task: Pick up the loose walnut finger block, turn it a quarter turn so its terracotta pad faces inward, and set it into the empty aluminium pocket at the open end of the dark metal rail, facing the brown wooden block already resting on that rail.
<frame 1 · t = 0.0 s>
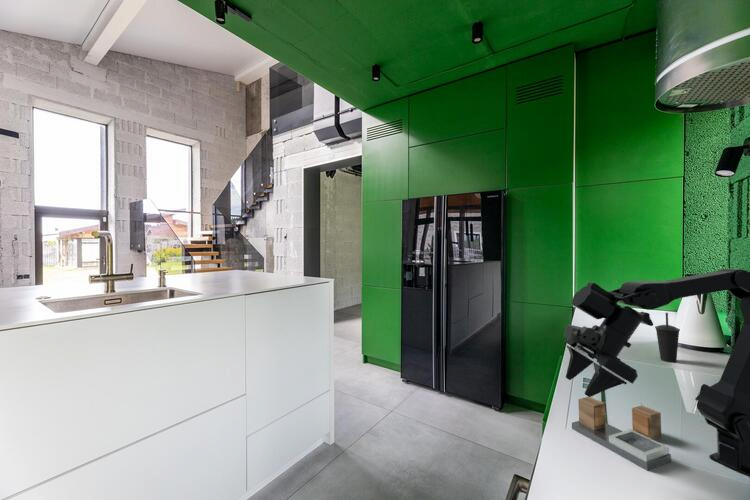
hand: (576, 386, 72), 15 cm above the worktop, tool tilted 35°, fingers open, 9 cm apart
rail: (617, 443, 75), on the worktop
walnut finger: (646, 434, 78), on the worktop
drinking cup: (668, 361, 130), on the worktop
brown wooden block: (592, 424, 80), resting on rail
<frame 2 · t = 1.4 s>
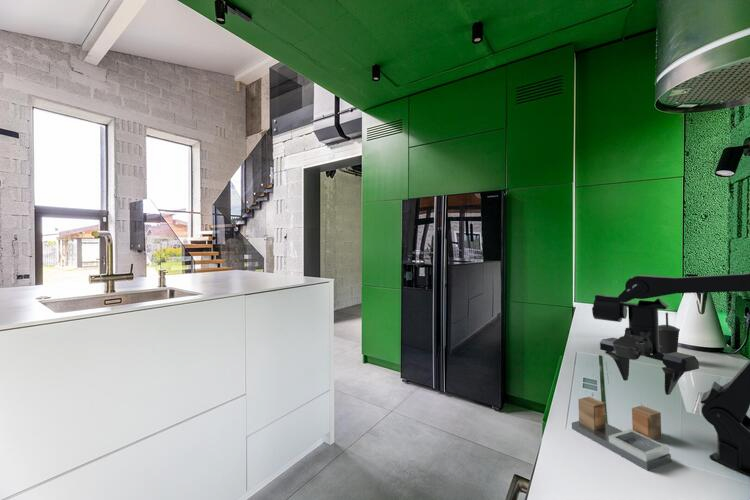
hand: (645, 387, 78), 12 cm above the worktop, tool pointing down, fingers open, 9 cm apart
nothing on the worktop moved.
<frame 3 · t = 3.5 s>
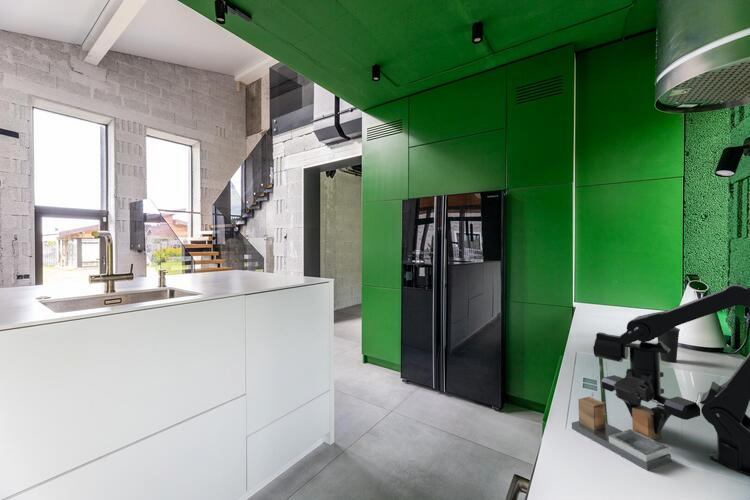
hand: (646, 429, 78), 1 cm above the worktop, tool pointing down, fingers closed on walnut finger, 4 cm apart
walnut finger: (646, 434, 78), on the worktop, touching gripper
everything else where it was.
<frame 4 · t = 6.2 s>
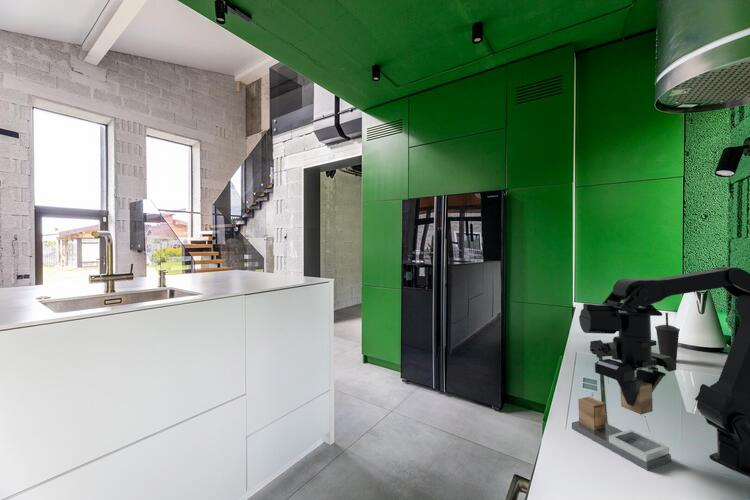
hand: (636, 403, 71), 11 cm above the worktop, tool pointing down, fingers closed on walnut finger, 4 cm apart
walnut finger: (636, 408, 71), point 10 cm above the worktop, touching gripper
everything else where it was.
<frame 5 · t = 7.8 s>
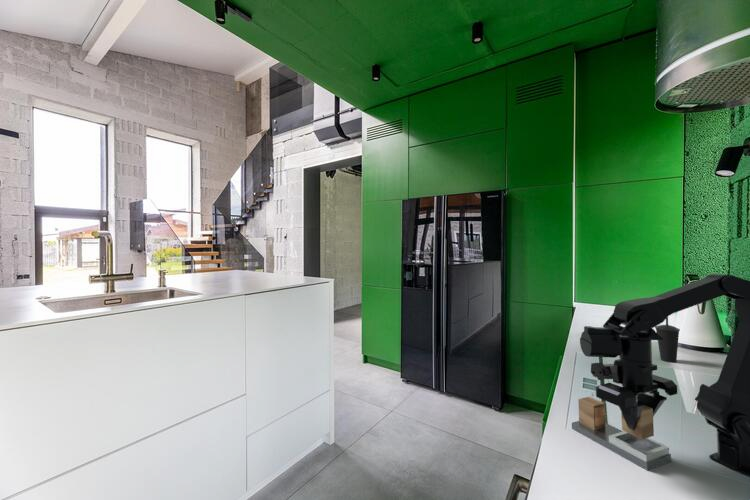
hand: (637, 427, 70), 6 cm above the worktop, tool pointing down, fingers closed on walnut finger, 4 cm apart
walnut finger: (637, 432, 70), point 5 cm above the worktop, touching gripper
everything else where it was.
when the fingers open (4 cm above the worktop, at t = 9.1 s): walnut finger drops 1 cm, resting on rail.
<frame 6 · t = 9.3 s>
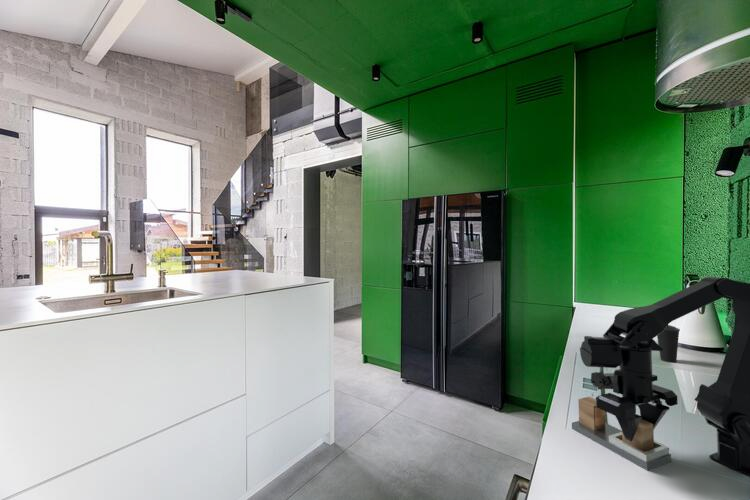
hand: (637, 437, 70), 4 cm above the worktop, tool pointing down, fingers open, 6 cm apart
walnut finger: (638, 447, 70), point 1 cm above the worktop, touching rail
everything else where it was.
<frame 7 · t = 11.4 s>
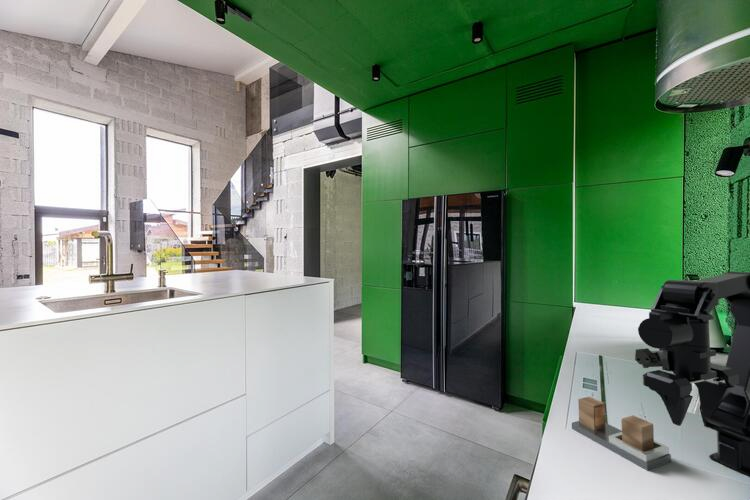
hand: (692, 420, 63), 12 cm above the worktop, tool pointing down, fingers open, 9 cm apart
nothing on the worktop moved.
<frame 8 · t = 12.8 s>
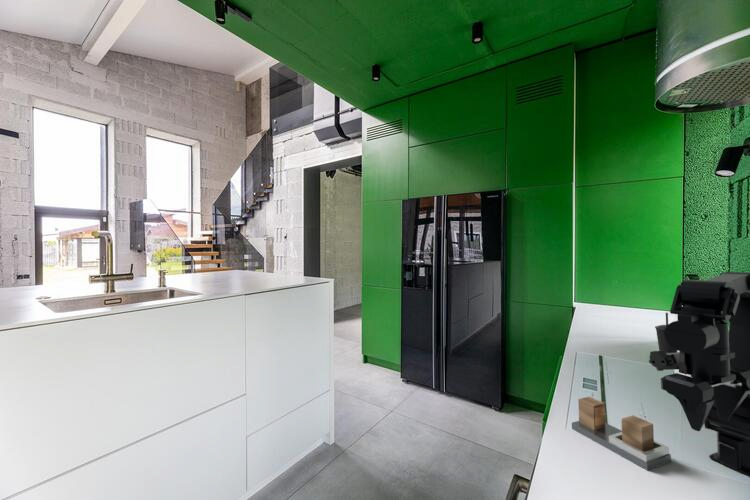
hand: (709, 425, 60), 12 cm above the worktop, tool pointing down, fingers open, 9 cm apart
nothing on the worktop moved.
at the end: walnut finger 0.0 cm from the target spot on the rail, point 1.5 cm above the rail's base; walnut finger tilted 0°; the gripper is holding nothing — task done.
